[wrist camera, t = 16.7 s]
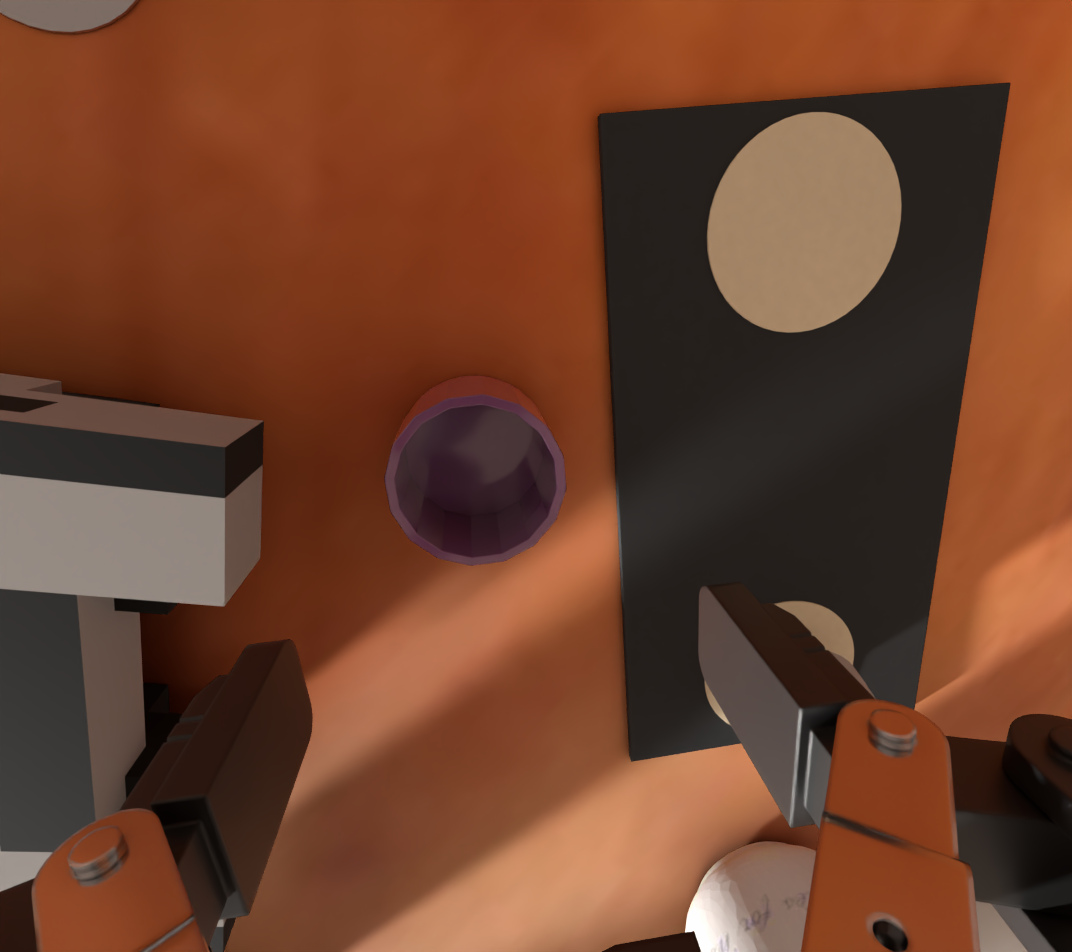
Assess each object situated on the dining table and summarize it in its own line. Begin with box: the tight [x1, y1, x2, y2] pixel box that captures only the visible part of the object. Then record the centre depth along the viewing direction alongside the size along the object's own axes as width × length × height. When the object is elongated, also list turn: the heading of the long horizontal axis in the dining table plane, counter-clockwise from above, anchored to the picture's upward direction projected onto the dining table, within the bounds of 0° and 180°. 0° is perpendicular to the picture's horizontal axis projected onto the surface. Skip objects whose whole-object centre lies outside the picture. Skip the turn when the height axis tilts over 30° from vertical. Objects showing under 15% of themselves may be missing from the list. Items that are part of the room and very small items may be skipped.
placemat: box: [598, 83, 1010, 761], centre depth 26 cm, size 16×30×1 cm, turn 5°
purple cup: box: [384, 375, 566, 566], centre depth 22 cm, size 6×6×4 cm
